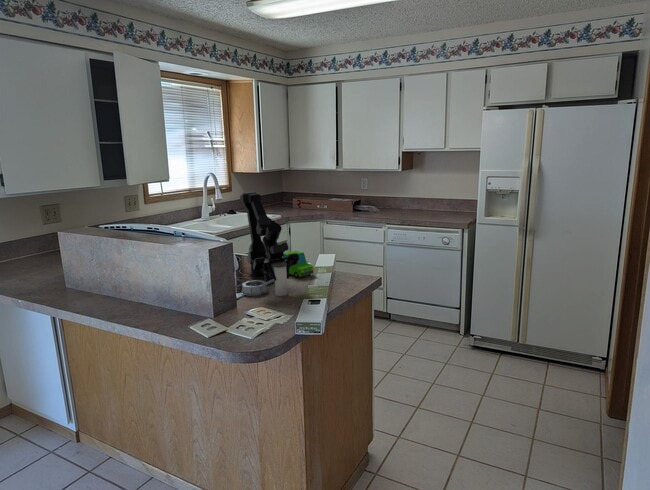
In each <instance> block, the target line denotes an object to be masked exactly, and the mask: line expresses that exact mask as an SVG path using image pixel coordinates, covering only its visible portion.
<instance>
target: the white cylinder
mask: <svg viewBox="0 0 650 490" xmlns="http://www.w3.org/2000/svg"><path fill="white" fill-rule="evenodd" d="M286 266H287V263H286V262H275V263H273V264H272V267H273V271H274V274H275V277H276V281H274V293H275V294H274V295H275V296H276V297H284V296H288V294H289V293H288V291H289V290H288V279H287V271H286Z"/></svg>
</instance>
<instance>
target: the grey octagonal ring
mask: <svg viewBox="0 0 650 490" xmlns="http://www.w3.org/2000/svg"><path fill="white" fill-rule="evenodd" d="M241 286H242V289H241V292H240V293H243V294H245V295H246V296H245V295H244V296H245V297H258V296H263V295H266V294H267V293H268V292H269V289H268V288H267V282H266V280H265V281H264V280H261V279H255V280H254V279H253V280H247V281H245V282H242V283H241Z"/></svg>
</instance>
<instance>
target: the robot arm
mask: <svg viewBox="0 0 650 490" xmlns="http://www.w3.org/2000/svg"><path fill="white" fill-rule="evenodd" d="M239 197H240V198H239V199H240V203H241V204H242V208H243V209H244V210H245V211H246V215H247V221H248V228H249V234H250V241H251V243H250V245H249V247H248V254H247V257H246V260H247V262H248V264H250V273H249V274H248V276H252V277H257V278H258V277H259V278H260V277H262V276H265V275H268V276H269V277H270V278H271V279H272V280H273V281H274V282H275V281H276V277H275V274H274V268H273V263H275V262H286V263H287V266H286V271H287V280H288V279H289V278H290V274H289V267H291V266H293V265H296V264H297V263H298V260H299V258H300V257H299V255H298V254H297V253H292V254H289V255H288V257H287V258H282V256H283V255H284V254H283V253H286V252H288V250H290V249H289V245H288V242H287V241H286V242H282V243H280V244H279V243H278V240H279V238H280V235H281V232H282V229H283V228H282V226H281V225H280V223H279V222H276V220H274V219H273V220H272V218H270V217H269V216H267V212H266V209H265V207H264V204H263V200H262V195H261V193H257V191H246V192H242V193H241V195H240V196H239ZM262 237H263V238H262Z"/></svg>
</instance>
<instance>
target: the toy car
mask: <svg viewBox="0 0 650 490" xmlns="http://www.w3.org/2000/svg"><path fill="white" fill-rule="evenodd" d="M292 253H297V254H298V255H299V257H300V258H299V260H298V263H297V264H296V265H293V266H291V267H289V275H293V276H294V277H295V278H296V279H299V278H301V277H304V276H310V275H312V274H314V265H312V264H310V263H308V260H307V259H306V256H305V252H303V251H300V250H291V251H286V252H284V253H283V254H284V255H283V256H282V258H287V257H288V255H289V254H292Z"/></svg>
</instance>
